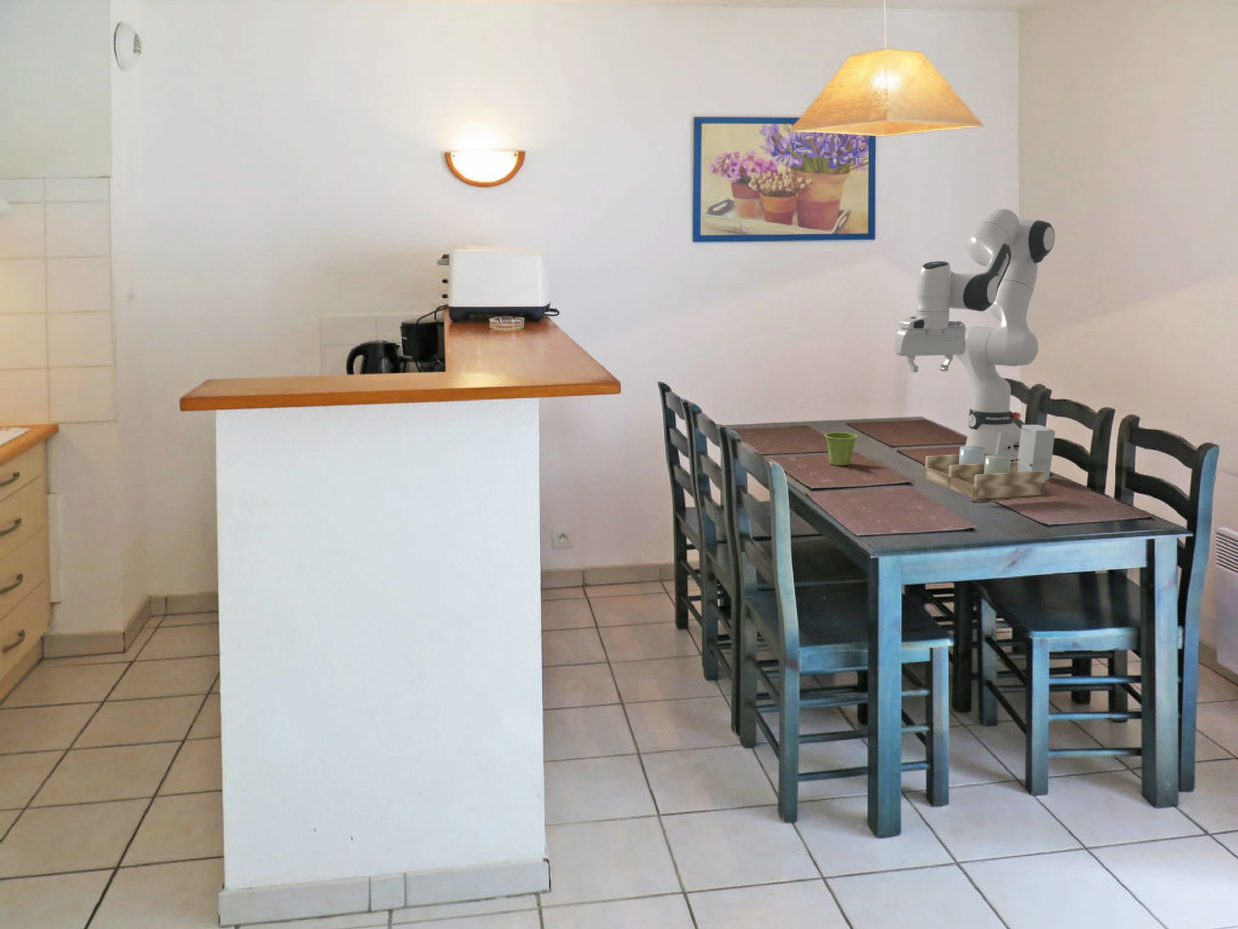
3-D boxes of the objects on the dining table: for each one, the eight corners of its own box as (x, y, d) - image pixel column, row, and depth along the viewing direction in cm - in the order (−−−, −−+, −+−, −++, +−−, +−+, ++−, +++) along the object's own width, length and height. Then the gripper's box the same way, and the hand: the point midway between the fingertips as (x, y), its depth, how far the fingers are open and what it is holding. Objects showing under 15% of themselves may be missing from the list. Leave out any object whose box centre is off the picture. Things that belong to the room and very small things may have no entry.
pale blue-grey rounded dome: (973, 477, 305) (976, 445, 304) (987, 482, 299) (989, 449, 297) (953, 478, 304) (955, 446, 302) (966, 484, 298) (968, 451, 296)
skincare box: (1015, 476, 312) (1019, 424, 309) (1034, 475, 314) (1039, 423, 310) (1031, 483, 304) (1035, 429, 301) (1051, 482, 305) (1055, 429, 302)
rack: (988, 478, 310) (990, 452, 309) (1043, 498, 287) (1046, 471, 285) (924, 482, 305) (925, 456, 304) (975, 503, 282) (977, 475, 280)
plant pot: (856, 468, 323) (857, 438, 321) (823, 466, 325) (824, 437, 323) (856, 461, 332) (857, 433, 330) (823, 460, 334) (825, 431, 332)
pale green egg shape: (999, 487, 294) (1001, 453, 292) (1013, 492, 288) (1016, 458, 286) (977, 488, 293) (980, 455, 291) (991, 494, 286) (994, 459, 285)
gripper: (959, 319, 312) (956, 369, 315) (893, 321, 307) (890, 371, 310) (971, 321, 306) (968, 371, 309) (904, 323, 301) (901, 373, 304)
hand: (929, 371), depth 310 cm, fingers open, 8 cm apart
